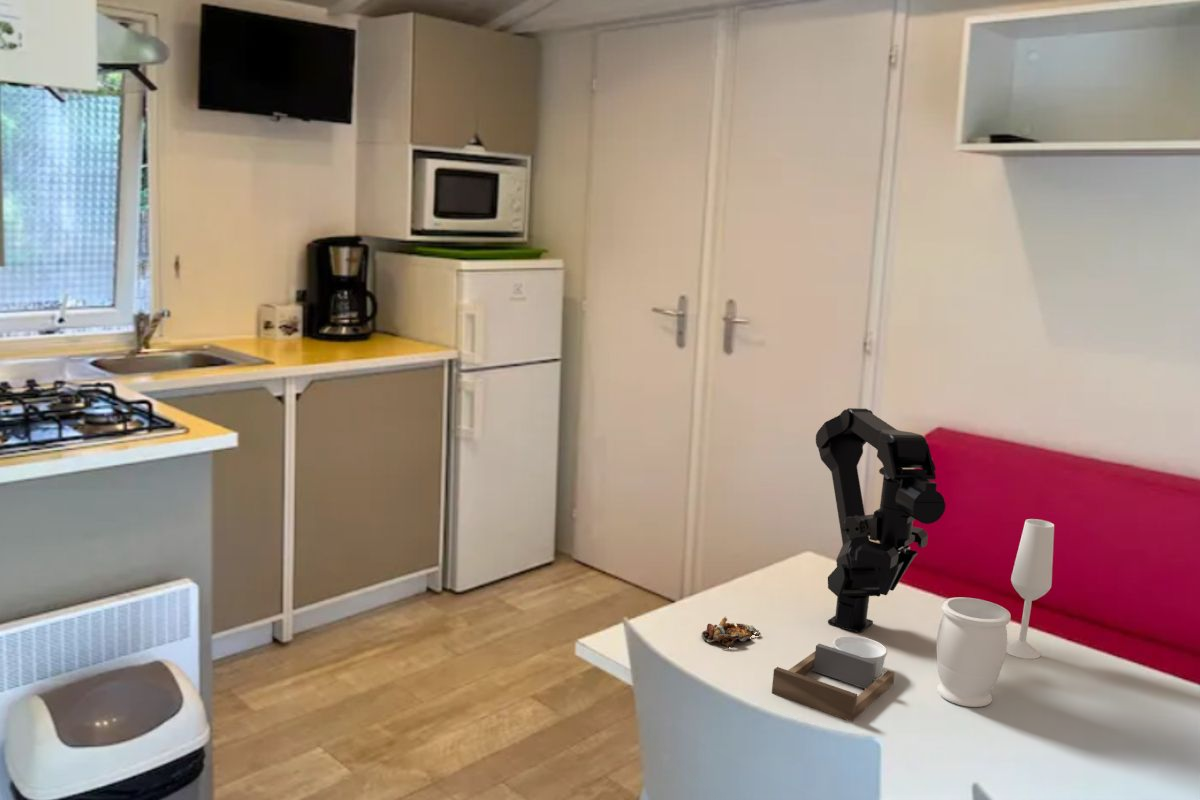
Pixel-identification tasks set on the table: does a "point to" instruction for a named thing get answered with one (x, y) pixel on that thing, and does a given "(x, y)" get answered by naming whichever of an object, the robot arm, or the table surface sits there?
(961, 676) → the jar
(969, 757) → the table surface
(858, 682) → the block
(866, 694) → the wooden u-shaped frame
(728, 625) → the grilled meat platter
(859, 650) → the ramekin
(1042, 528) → the champagne flute
